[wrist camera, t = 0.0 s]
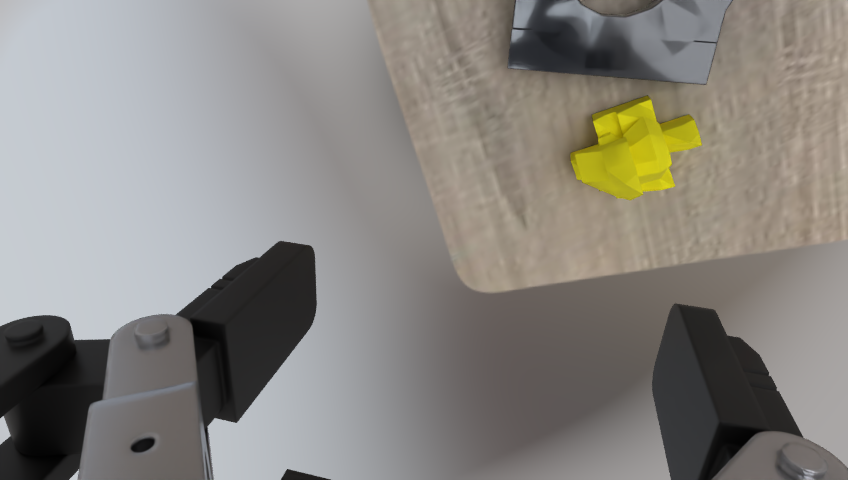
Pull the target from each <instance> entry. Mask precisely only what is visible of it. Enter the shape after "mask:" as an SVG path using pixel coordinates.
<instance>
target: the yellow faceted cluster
mask: <svg viewBox="0 0 848 480" xmlns="http://www.w3.org/2000/svg"><path fill="white" fill-rule="evenodd" d="M592 119H593V123H594V126H595V129H596V133H597V136H598V144H597V145H594V146H591V147H587V148H584V149H581V150H578V151H575V152H572V153H570V156H571V163H572V166H573V168H574V171H575V174H576V177H577V180H582V183H585V184H587V185H590V186H592V187H594V188H597V189H599V191H604V192H606V193H609V194H611V195H614V196H616V198H623V199H627V200H632V199H634V198H637V197H639V196H641V195H643V191H656V190H664V189H668V188H671V187H675V184H674V181H673V178H672V175H671V173H670V169H669V167H670V166H671V165H672V162H671V157H670V152H676V151H682V150H689V149H692V148H695V147H698V146H701V145H702V143H701V139H700V135H699V132H698V129H697V126H696V123H695V121H694V119H693V118H692V117H691V116H690V115H686V116H683V117H680V118H677V119H674V120H670V121H667V122H664V123H661V124H659V123H657V121H656V117H655V113H654V109H653V106H652V102H651V99H650V98H649V97H648V95H647V96H645V97H642V98H639V99H636V100H633V101H630V102H627V103H624V104H621V105H619V106H616V107H613V108H610V109H607V110H604V111H601V112H598V113H595V114H593V115H592Z"/></svg>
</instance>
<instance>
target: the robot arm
mask: <svg viewBox="0 0 848 480" xmlns="http://www.w3.org/2000/svg"><path fill="white" fill-rule="evenodd" d="M316 305H317V301H316V274H315V254H314V250H313V248H312V247H311V246H309V245H303V244H297V243H291V242H284V241H279V242H278V243H276V244H275V245H274V246H273V247H272V248H270V249H269V250H268V251H267V252H266V253H265V254H263V255H262V256H261V257H260V258H253V259H251V260H248V261H246V262H244V263H242V264H239V265H236V266H235V267H234V268H233V269H231V270H230V271H229V272H228V273H227V274H225V275H224V276H223V277H222V279H219V280H218V281H217V282H215V283H214V284H213V285H212V286H211V288H208V289H207V290H206V291H204V292H203V293H202V294H201V295H199V296H198V297H197V298H196V299H195V300H193V301H192V302H191V303H190V304H188V305H187V306H186V307H185V308H184V309H182V310H181V311H180V312H179V313H177V314H176V315H169V314H161V315H152V316H148V317H143V318H140V319H137V320H134V321H132V322H130V323H128V324H126V325H124V326H122V327H121V328H120V329H118V330H117V331H116V332H115V333H114V334H113V336H112V337H111V339H107V340H106V339H104V340H74V338H73V334H72V330H71V326H70V323H69V322H68V321H67V320H66V319H64V318H62V317H57V316H50V315H43V316H33V317H27V318H23V319H19V320H16V321H12V322H10V323H7V324H5V325H2V326H0V418H1V417H2V416H4V418H5V420H6V423H7V426H8V429H9V432H10V434H11V436H10V437H9V438H8V439H7V440H5V441H4V442H3V443H2V444H1V445H0V480H69V479H70V478H71V477H72V476H73V475H74V474H75V473H76V472H77V471H78V469H79V474H78V480H214V477H213V468H212V459H211V450H210V442H209V433H208V427H207V426H208V425H209V424H210V423H211V422H212V420H213V419H214V418H218V419H222V420H226V421H231V422H235V423H237V422H238V421H239V419H240V418H241V417H242V415H243V414H244V413H245V412H246V410H247V409H248V408H249V406H250V405H251V404H252V402H253V401H254V400H255V398H256V397H257V396H258V395H259V394H260V392H261V391H262V390H263V388H264V387H265V386H266V385H267V383H268V382H269V381H270V379H271V378H272V377H273V375H274V374H275V373H276V372H277V370H278V369H279V368H280V366H281V365H282V364H283V363H284V361H285V360H286V359H287V357H288V356H289V355H290V353H291V352H292V351H293V350H294V348H295V347H296V346H297V344H298V343H299V342H300V341H301V339H302V338H303V337H304V335H305V334H306V333H307V331H308V330H309V329H310V327H311V325H312V323H313V320H314V317H315V313H316ZM776 389H777V387H776V385H775V383H774V381H773V379H772V378H771V376H769V372H768V370H767V368H766V367H765V364H764V363H763V361H762V359H761V357H760V355H759V354H758V353H757V352H756V351H754V350H753V349H752V348H751V347H750V346H749V345H748V344H747V343H745V342H744V341H743V340H742V339H741V338H738V337H732V336H727V334H726V332H725V330H724V328H723V326H722V324H721V321H720V319H719V317H718V315H717V313H716V311H715V310H713V309H707V308H701V307H694V306H688V305H682V304H674V305H673V306H672V308H671V310H670V313H669V316H668V320H667V323H666V326H665V330H664V334H663V337H662V341H661V345H660V348H659V351H658V355H657V359H656V362H655V366H654V372H653V381H652V390H653V397H654V402H655V406H656V411H657V416H658V420H659V425H660V430H661V435H662V439H663V444H664V448H665V453H666V458H667V463H668V467H669V472H670V477H671V480H848V468H847V467H846V466H845V465H844V464H843V463H842V462H841V461H840V460H839V459H838V458H837V457H835V456H834V455H833V454H832V453H830V452H829V451H827V450H826V449H824V448H823V447H821V446H819V445H817V444H815V443H813V442H811V441H809V440H807V439H805V438H803V436H802V434H801V432H800V430H799V428H798V426H797V425H796V423H795V421H794V419H793V417H792V415H791V413H790V411H789V410H788V408H787V406H786V404H785V402H784V400H783V398H782V397H781V394H780V393H779V391H777V390H776ZM281 480H330V479H326V478H322V477H317V476H313V475H309V474H305V473H301V472H297V471H293V470H289V469H287V470H286V472H285V474H284V476H283V477H282V479H281Z"/></svg>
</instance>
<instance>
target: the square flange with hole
mask: <svg viewBox="0 0 848 480" xmlns="http://www.w3.org/2000/svg"><path fill="white" fill-rule="evenodd" d="M732 1H733V0H654V1H653V2H651V3H650V4H649V5H648V6H646V7H645V8H642V9H639V10H636V11H633V12H630V13H627V14H624V15H612V14H600V13H598V12H596V11H594V10H592V9H590V8H588V7H586V6H585V5H583V4H581V2H580V1H579V0H515V5H514V14H513V23H512V28H513V29H512V31H511V40H510V49H509V58H508V67H507V68H509V69H521V70H533V71H545V72H557V73H569V74H581V75H593V76H605V77H617V78H629V79H641V80H653V81H665V82H677V83H689V84H701V85H706V84H707V80H708V76H709V73H710V69H711V65H712V61H713V57H714V53H715V50H716V46H717V42H718V38H719V34H720V30H721V27H722V23H723V19H724V15H725V11H726V10H727V8H728V7H729V5H730V4H731V2H732Z"/></svg>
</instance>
